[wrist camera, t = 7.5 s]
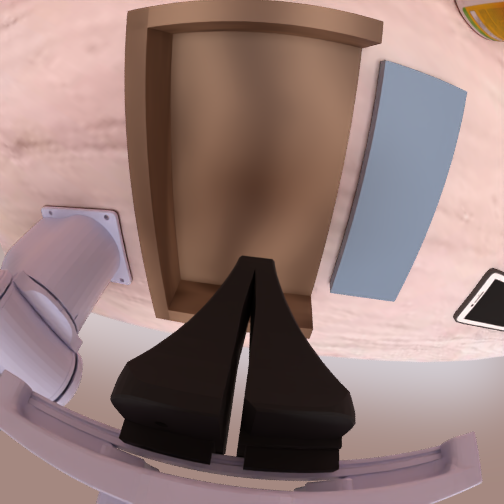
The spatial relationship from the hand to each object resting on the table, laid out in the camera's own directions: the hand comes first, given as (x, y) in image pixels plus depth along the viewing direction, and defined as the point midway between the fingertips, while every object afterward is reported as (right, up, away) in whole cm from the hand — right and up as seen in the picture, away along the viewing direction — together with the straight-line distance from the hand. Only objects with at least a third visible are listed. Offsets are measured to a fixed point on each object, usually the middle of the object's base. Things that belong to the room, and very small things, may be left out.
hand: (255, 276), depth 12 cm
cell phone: (+30, -5, +12) cm, 33 cm away
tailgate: (+7, +6, +7) cm, 11 cm away
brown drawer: (0, +6, +7) cm, 10 cm away
